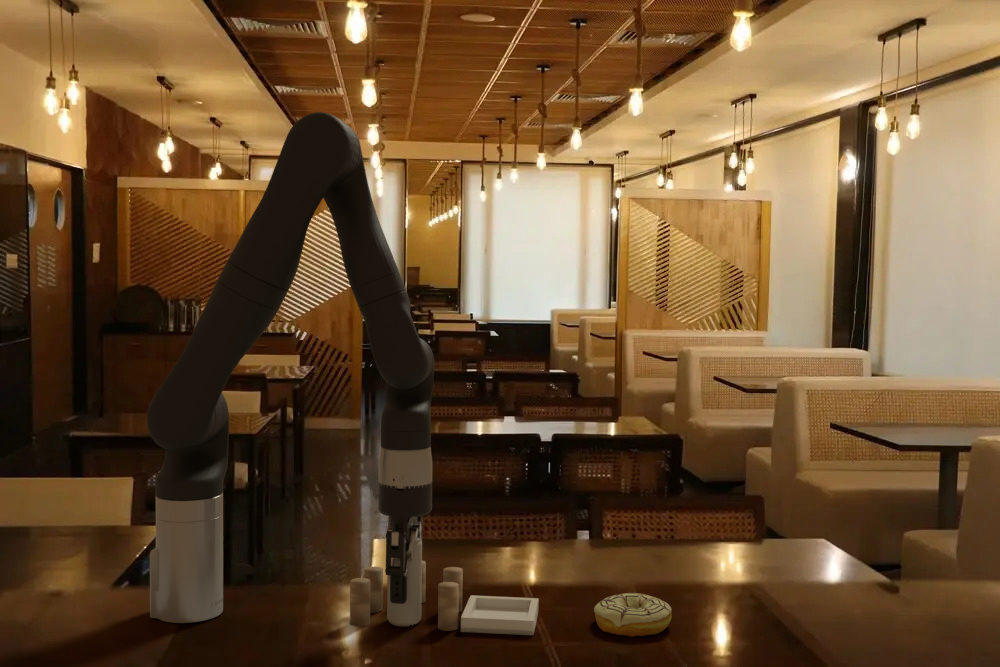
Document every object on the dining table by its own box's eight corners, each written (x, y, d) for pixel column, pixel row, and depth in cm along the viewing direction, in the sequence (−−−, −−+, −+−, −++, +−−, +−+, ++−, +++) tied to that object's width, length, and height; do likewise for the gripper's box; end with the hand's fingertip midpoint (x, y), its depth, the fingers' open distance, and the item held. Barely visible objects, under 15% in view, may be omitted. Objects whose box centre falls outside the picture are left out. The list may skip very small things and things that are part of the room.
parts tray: (460, 631, 140) (461, 617, 139) (470, 608, 149) (470, 595, 149) (533, 635, 138) (533, 620, 138) (538, 611, 148) (538, 598, 148)
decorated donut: (580, 620, 146) (581, 594, 146) (645, 611, 150) (645, 586, 150) (617, 644, 136) (618, 616, 136) (685, 633, 140) (685, 606, 140)
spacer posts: (347, 625, 141) (347, 583, 141) (369, 596, 154) (370, 557, 154) (456, 631, 140) (457, 588, 139) (469, 601, 153) (469, 562, 153)
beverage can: (415, 628, 141) (416, 543, 140) (382, 626, 141) (383, 540, 141) (425, 617, 145) (426, 534, 145) (392, 615, 146) (393, 532, 146)
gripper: (389, 468, 150) (389, 578, 151) (367, 488, 136) (366, 608, 136) (440, 470, 149) (439, 580, 150) (422, 490, 135) (421, 611, 136)
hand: (404, 593), depth 143 cm, fingers open, 8 cm apart
